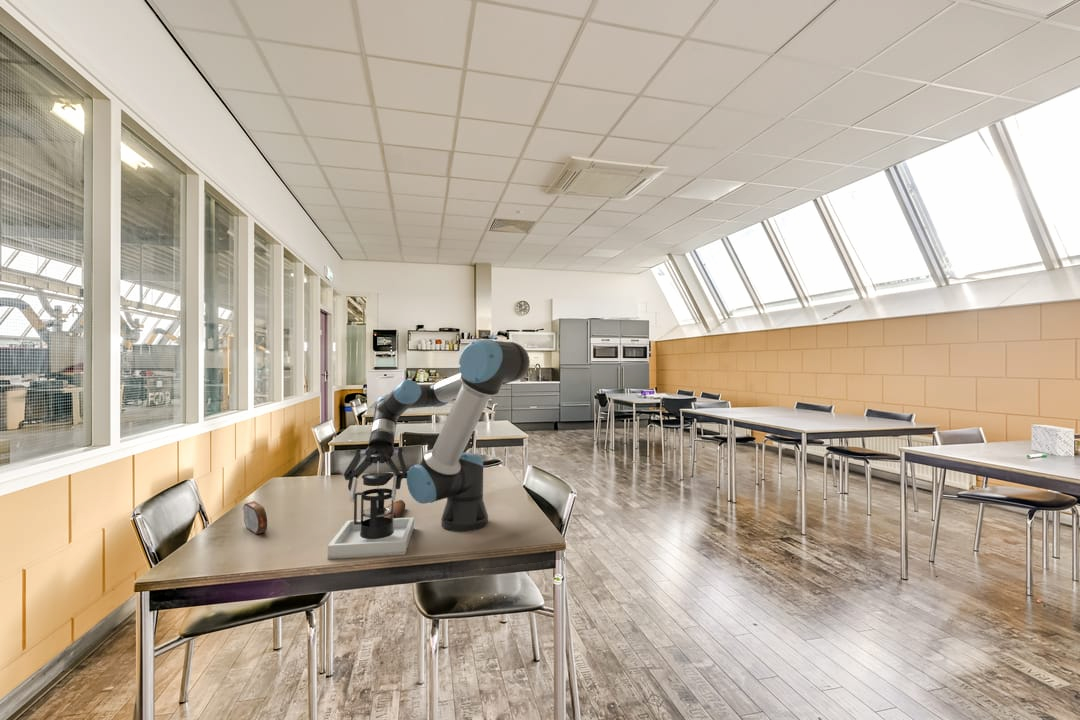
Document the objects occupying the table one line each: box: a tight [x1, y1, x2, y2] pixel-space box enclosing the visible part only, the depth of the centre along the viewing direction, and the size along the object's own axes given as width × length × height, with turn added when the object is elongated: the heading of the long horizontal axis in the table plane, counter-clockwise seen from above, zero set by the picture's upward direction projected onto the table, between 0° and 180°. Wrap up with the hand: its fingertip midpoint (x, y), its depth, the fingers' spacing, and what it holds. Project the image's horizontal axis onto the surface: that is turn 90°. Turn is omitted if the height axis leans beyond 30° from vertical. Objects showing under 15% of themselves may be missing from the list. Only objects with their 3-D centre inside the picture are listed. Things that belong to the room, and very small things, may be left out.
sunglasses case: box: [384, 499, 406, 518], centre depth 164 cm, size 18×7×7 cm
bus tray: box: [327, 517, 415, 560], centre depth 139 cm, size 20×22×4 cm
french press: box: [353, 454, 395, 539], centre depth 139 cm, size 12×9×23 cm
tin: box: [242, 500, 268, 535], centre depth 150 cm, size 15×3×8 cm, turn 47°
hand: (372, 499), depth 136 cm, fingers closed on french press, 11 cm apart
